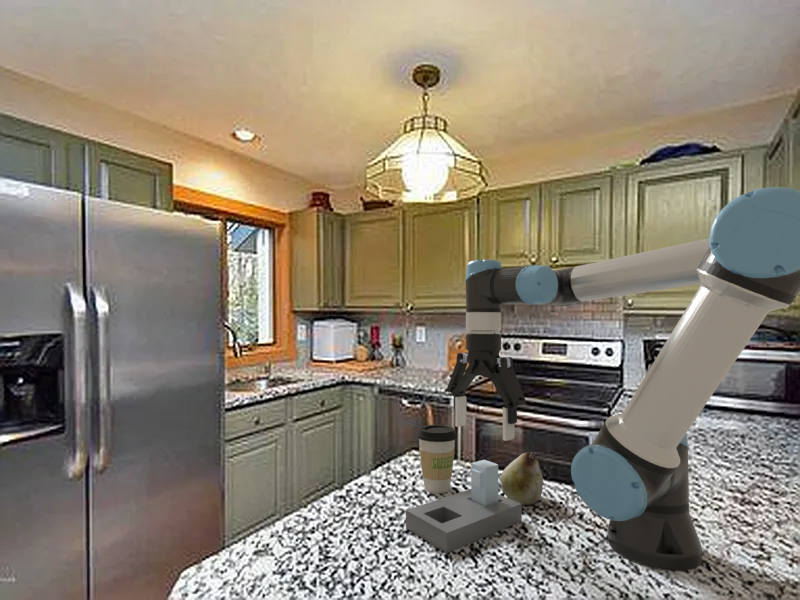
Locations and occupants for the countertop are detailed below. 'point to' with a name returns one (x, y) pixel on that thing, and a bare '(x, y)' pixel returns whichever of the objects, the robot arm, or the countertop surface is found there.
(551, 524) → the countertop surface
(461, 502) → the socket panel
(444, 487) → the coffee cup
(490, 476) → the plug
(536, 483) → the fruit
